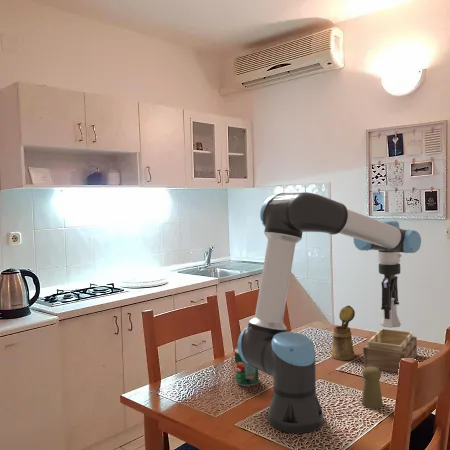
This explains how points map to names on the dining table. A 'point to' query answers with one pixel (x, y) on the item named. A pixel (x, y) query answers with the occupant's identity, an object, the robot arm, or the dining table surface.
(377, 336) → the pine crate
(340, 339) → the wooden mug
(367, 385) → the cork
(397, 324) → the flask
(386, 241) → the robot arm
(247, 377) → the canned tomato
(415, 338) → the wooden drawer box
